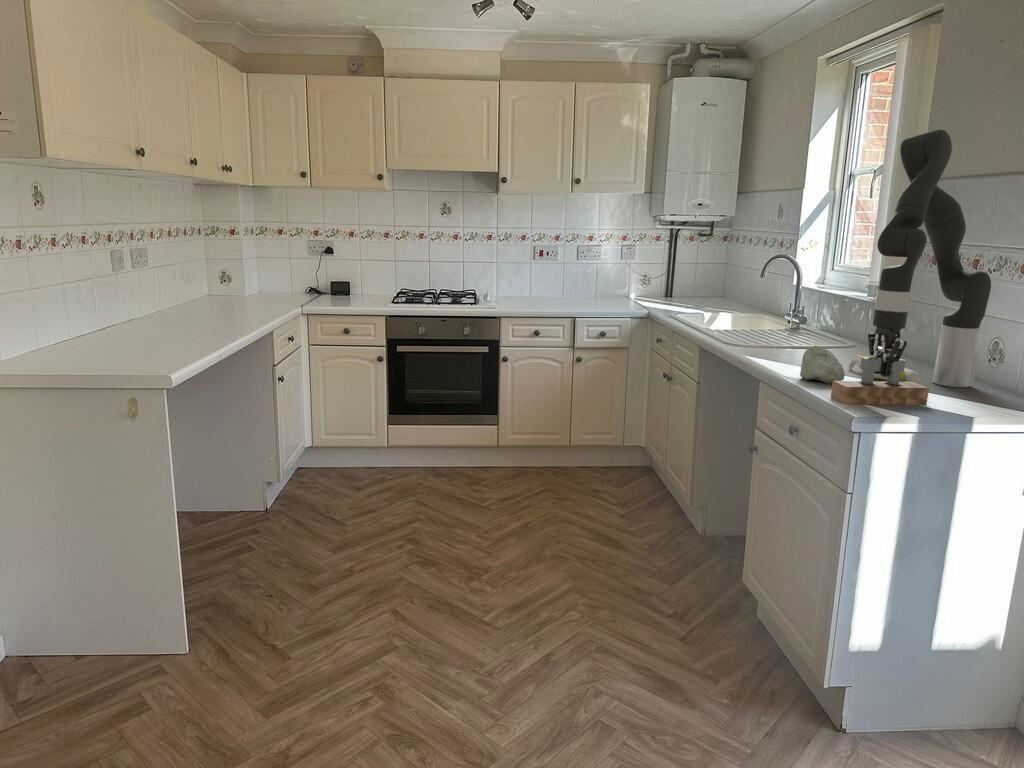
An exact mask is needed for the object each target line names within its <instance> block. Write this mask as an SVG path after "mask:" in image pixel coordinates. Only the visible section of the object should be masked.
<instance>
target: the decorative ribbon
mask: <svg viewBox="0 0 1024 768" xmlns="http://www.w3.org/2000/svg"><path fill="white" fill-rule="evenodd" d="M856 356H857V357H861V358H862V357H863V355H859V354H857V355H856ZM864 357H868V358H872V357H871V356H867V355H864ZM855 365H857V366H858V367H859V368H860V367H861V361H860V360H858V359H857V358H856V357H855V358H852V359H851V361H850V363H849V364H848V369H849V370H850V371H852V370H853V369H854V367H855ZM858 372H860V373H861V371H859V370H858ZM887 378H888V377H883V376H881V374H875V373H874V381H887ZM899 382H914V383H917V384H919V383H920V374H919V373H918V372H917V371H915V370H913V369H909V368H907V367H905V368H904V372H901V373H900V379H899Z"/></svg>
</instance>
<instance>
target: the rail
mask: <svg viewBox="0 0 1024 768" xmlns="http://www.w3.org/2000/svg"><path fill="white" fill-rule="evenodd" d="M831 385H832V387H831V393H830V398H832V399H833V400H836V401H838V402H840V403H842V404H844V405H890V406H891V405H895V406H897V405H898V406H899V405H901V406H903V405H905V406H909V405H910V406H927V405H928V404H927V403H928V397H929V392H930V387H927V386H925V385H922V384H919V383H918V384H917V383H914V382H908V381H907V382H899V385H898V386H890V385H887V381H886V380H882V381H879V380H873V386H865V385H862V384H861V380H842V381H833V384H831Z"/></svg>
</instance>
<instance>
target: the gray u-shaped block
mask: <svg viewBox="0 0 1024 768" xmlns="http://www.w3.org/2000/svg"><path fill="white" fill-rule="evenodd" d="M868 357H869V356H868ZM868 357H865V356H862V357H861V367H859V369H860V370H862V372H861V374H862V375H861V380H860V381H861V384H862V385H865V386H873V381H875V379H874V373H875V371H881V370H882V363H883V358H873V357H871V358H868ZM904 368H906V360H905V359H903V358H900V360H899V361H896V362H893V363H892V369H891V374H890V376H889V377H888V378H887V385H890V386H898V385H899V379H900V373H901V372H904Z"/></svg>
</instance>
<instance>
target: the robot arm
mask: <svg viewBox="0 0 1024 768" xmlns="http://www.w3.org/2000/svg"><path fill="white" fill-rule="evenodd" d="M952 150H953V144H952V139H951V137H950V134H949V133H948V132H947V131H946V130H944V129H936V130H931V131H928V132H923V133H920V134H916V135H913V136H910V137H906V138H905V139H903V140H902V142H901V143H900V146H899V153H900V155H899V156H900V159H901V163H902V166H903V168H904V171H905V173H906V175H907V178H908V181H909V182H910V183H908V185H907V186H906V187H905V188H904V190H903V191H902V192H901V194H900V196H899V198H898V200H897V203H896V207H895V209H894V213H893V216H892V218H891V219H890V221H889V222H888V223H887V225H885V227H884V228H883V229H882V231H881V233H880V235H879V236H878V240H877V242H876V243H877V246H876V247H877V250H878V252H879V253H880V254H881V255H882V256H884V257H892V258H893V257H894V258H906V259H905V261H904V263H902V264H899V265H892V266H886V267H884V268H882V270H881V274H880V280H879V285H878V286H879V287H878V292H877V296H876V299H875V300H876V301H875V305H874V306H875V307H874V312H873V320H872V326H874V327H876V328H875V330H874V332H869V333H868V334H867V339H868V340H867V341H868V351H869V355H870V356H872V358H883V363H882V370H881V371H875V374H881V376H883V377H889V376H890V374H891V369H892V363H893V362H896V361H899V360H900V359H901V357H902V355H903V353H904V352H905V351H904V350H905V348H906V347H907V345H908V342H907V340H902V339H901V335H902V334H901V331H902V330H903V329H905V328H906V327H907V325H906V324H907V320H908V315H909V314H908V313H909V308H910V302H911V301H910V300H911V287H912V283H913V276H914V273H915V270H916V268H917V264H918V262H919V260H920V258H921V257H922V254H923V253H924V250H925V248H926V245H927V241H928V239H927V236H928V238H929V241H930V245H931V248H932V251H933V254H934V255H933V256H934V259H935V264H936V268H937V273H938V274H937V275H938V279H939V284H940V288H941V292H942V294H943V295H944V297H945V298H946V299H947V300H949V301H952V302H958V303H960V306H959V308H958V310H956V311H954V312H952V313H948V314H945V315H944V316H943V319H942V322H941V323H942V325H941V330H940V335H939V336H940V337H939V342H938V348H937V352H936V353H937V354H936V359H935V365H934V371H933V377H932V382H933V383H934V384H936V385H939V386H945V387H951V388H968V387H973V384H974V380H975V379H974V378H975V374H976V369H977V368H976V367H977V363H978V355H979V354H978V353H976V351H977V350H976V348H977V343H978V338H979V332H980V327H981V323H982V321H983V320H984V317H985V314H986V311H987V306H988V303H989V299H990V294H991V289H992V279H991V276H990V275H989V274H988V273H987V272H986V271H982V270H972V269H964V267H963V265H962V262H961V258H960V247H961V246H962V242H963V239H964V237H965V234H966V231H967V223H966V220H965V217H964V213H963V209H962V207H961V205H960V203H959V202H958V201H957V200H956V199H955V198H954V197H953V196H952V195H950V194H949V193H948V192H946V191H945V190H943V188H940V186H938V183H939V181H940V179H941V178H942V176H943V174H944V171H945V169H946V168H947V165H948V163H949V162H950V158H951V156H952ZM923 224H924V227H925V230H926V232H925V231H924V230H923V229H920V228H921V227H922V225H923ZM926 233H927V235H926Z"/></svg>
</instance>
